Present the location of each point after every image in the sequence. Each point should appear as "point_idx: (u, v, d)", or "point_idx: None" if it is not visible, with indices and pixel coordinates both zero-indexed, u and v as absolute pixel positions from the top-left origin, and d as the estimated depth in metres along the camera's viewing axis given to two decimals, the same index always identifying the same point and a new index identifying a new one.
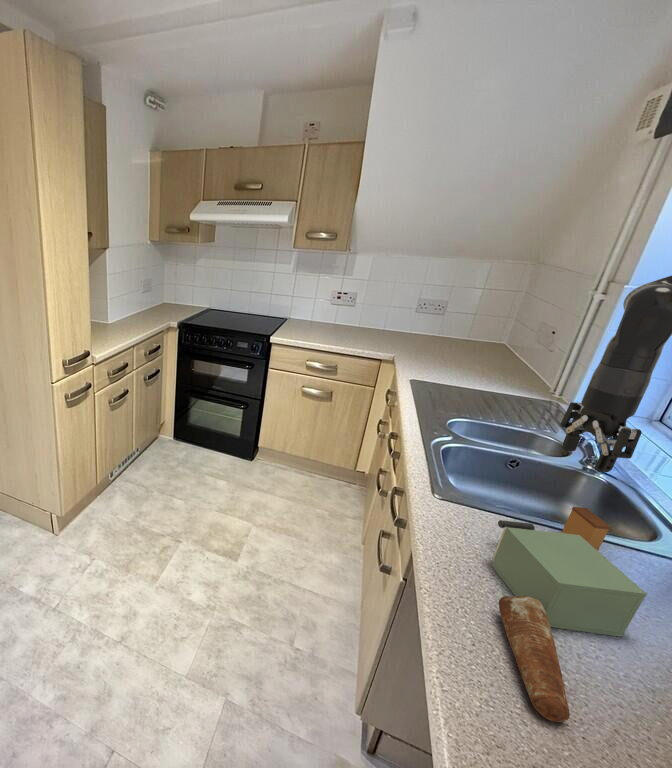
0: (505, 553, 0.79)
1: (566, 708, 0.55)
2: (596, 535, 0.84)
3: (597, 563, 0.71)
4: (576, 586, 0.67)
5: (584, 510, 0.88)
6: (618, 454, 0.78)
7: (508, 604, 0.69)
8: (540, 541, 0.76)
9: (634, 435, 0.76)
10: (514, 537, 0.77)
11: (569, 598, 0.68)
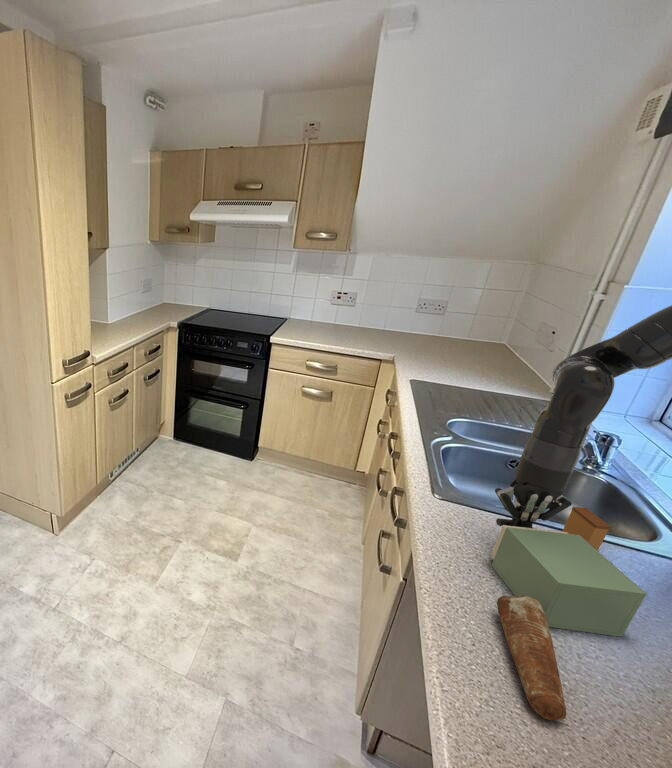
0: (505, 553, 0.79)
1: (563, 707, 0.55)
2: (596, 535, 0.84)
3: (597, 563, 0.71)
4: (576, 586, 0.67)
5: (584, 510, 0.88)
6: (505, 506, 0.84)
7: (506, 604, 0.69)
8: (540, 541, 0.76)
9: (500, 497, 0.82)
10: (514, 537, 0.77)
11: (569, 598, 0.68)
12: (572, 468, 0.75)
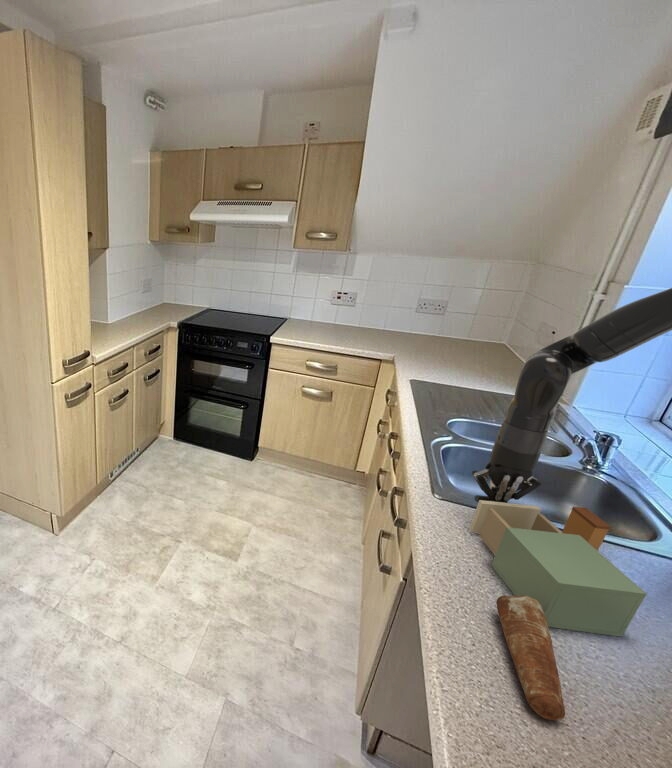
0: (505, 553, 0.79)
1: (562, 707, 0.56)
2: (596, 535, 0.84)
3: (597, 563, 0.71)
4: (576, 586, 0.67)
5: (584, 510, 0.88)
6: (482, 487, 0.92)
7: (505, 604, 0.69)
8: (540, 541, 0.76)
9: (476, 479, 0.90)
10: (514, 537, 0.77)
11: (569, 598, 0.68)
12: (539, 451, 0.83)
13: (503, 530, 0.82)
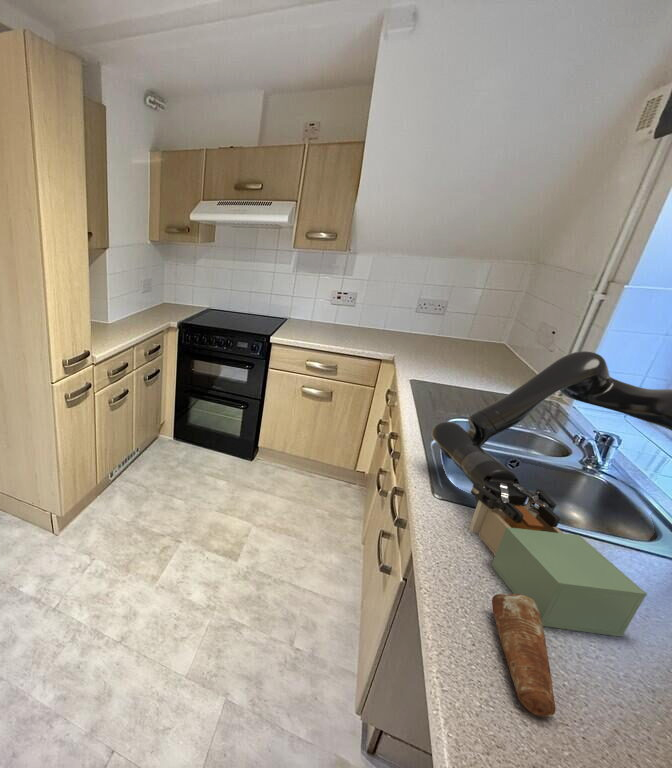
0: (505, 553, 0.79)
1: (552, 703, 0.56)
2: None
3: (597, 563, 0.71)
4: (576, 586, 0.67)
5: (520, 509, 0.84)
6: (486, 505, 0.86)
7: (500, 602, 0.70)
8: (540, 541, 0.76)
9: (474, 489, 0.89)
10: (514, 537, 0.77)
11: (569, 598, 0.68)
12: (499, 461, 0.94)
13: (503, 530, 0.82)
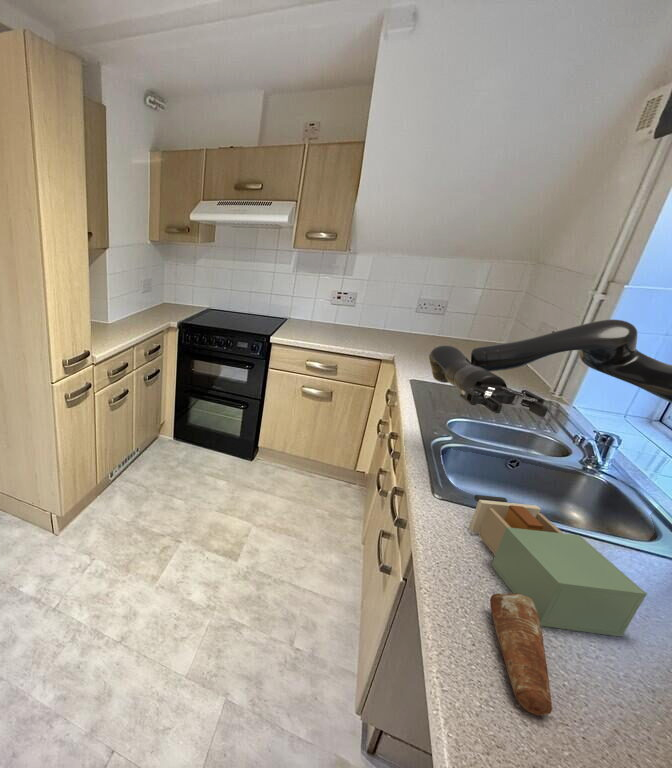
0: (505, 553, 0.79)
1: (548, 702, 0.56)
2: None
3: (597, 563, 0.71)
4: (576, 586, 0.67)
5: (520, 509, 0.84)
6: (469, 402, 0.93)
7: (498, 601, 0.70)
8: (540, 541, 0.76)
9: (463, 391, 0.96)
10: (514, 537, 0.77)
11: (569, 598, 0.68)
12: None
13: (503, 530, 0.82)
